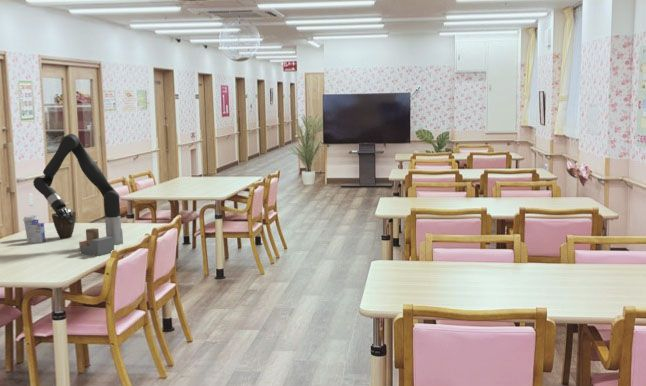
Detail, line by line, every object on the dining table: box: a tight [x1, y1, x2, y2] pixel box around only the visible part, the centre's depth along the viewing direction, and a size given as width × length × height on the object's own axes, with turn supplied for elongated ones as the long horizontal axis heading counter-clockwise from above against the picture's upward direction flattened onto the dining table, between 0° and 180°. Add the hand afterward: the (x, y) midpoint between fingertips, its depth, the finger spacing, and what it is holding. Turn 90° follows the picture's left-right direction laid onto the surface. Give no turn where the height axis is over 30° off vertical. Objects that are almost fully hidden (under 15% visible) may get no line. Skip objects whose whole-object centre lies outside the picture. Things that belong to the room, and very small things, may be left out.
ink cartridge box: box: [25, 219, 46, 244], centre depth 464 cm, size 10×6×14 cm, turn 89°
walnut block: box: [85, 227, 100, 247], centre depth 429 cm, size 5×5×12 cm
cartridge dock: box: [80, 235, 115, 257], centre depth 428 cm, size 15×12×9 cm
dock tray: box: [78, 240, 87, 253], centre depth 430 cm, size 10×11×6 cm
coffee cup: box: [23, 214, 39, 236], centre depth 476 cm, size 10×10×15 cm
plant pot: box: [51, 211, 77, 240], centre depth 478 cm, size 15×15×16 cm
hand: (71, 223), depth 437 cm, fingers closed
